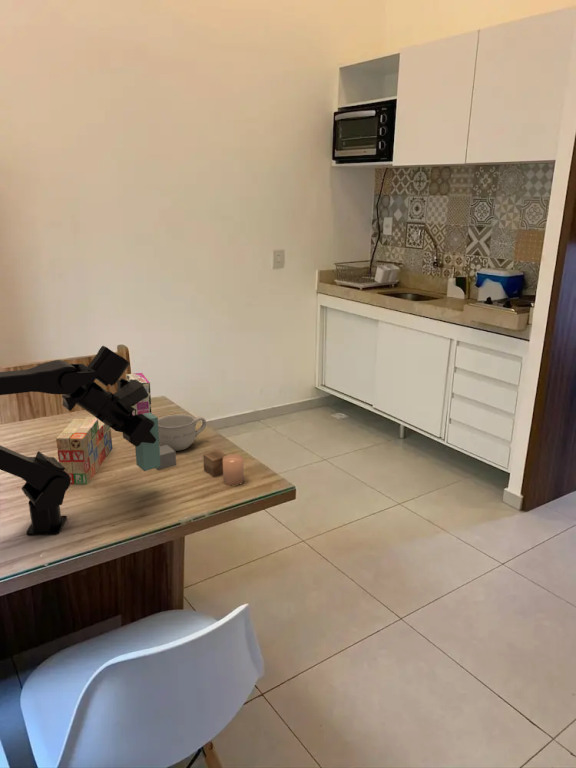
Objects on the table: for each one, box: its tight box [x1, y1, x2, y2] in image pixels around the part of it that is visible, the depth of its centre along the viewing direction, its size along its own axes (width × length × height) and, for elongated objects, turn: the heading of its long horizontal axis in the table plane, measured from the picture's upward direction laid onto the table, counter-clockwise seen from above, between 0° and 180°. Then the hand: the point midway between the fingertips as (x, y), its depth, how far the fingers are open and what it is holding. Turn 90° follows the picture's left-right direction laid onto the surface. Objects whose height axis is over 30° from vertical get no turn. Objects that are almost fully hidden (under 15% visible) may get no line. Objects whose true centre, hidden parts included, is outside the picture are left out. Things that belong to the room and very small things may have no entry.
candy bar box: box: [125, 372, 152, 416], centre depth 167 cm, size 11×5×16 cm, turn 25°
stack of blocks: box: [56, 416, 113, 485], centre depth 147 cm, size 21×6×12 cm, turn 0°
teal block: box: [134, 412, 161, 472], centre depth 131 cm, size 4×4×12 cm
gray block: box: [155, 445, 177, 471], centre depth 149 cm, size 5×5×4 cm
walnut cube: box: [202, 449, 227, 478], centre depth 145 cm, size 4×4×4 cm
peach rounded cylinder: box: [222, 453, 245, 486], centre depth 140 cm, size 5×5×6 cm
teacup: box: [158, 413, 207, 452], centre depth 159 cm, size 14×11×8 cm
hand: (150, 438), depth 131 cm, fingers closed on teal block, 4 cm apart
